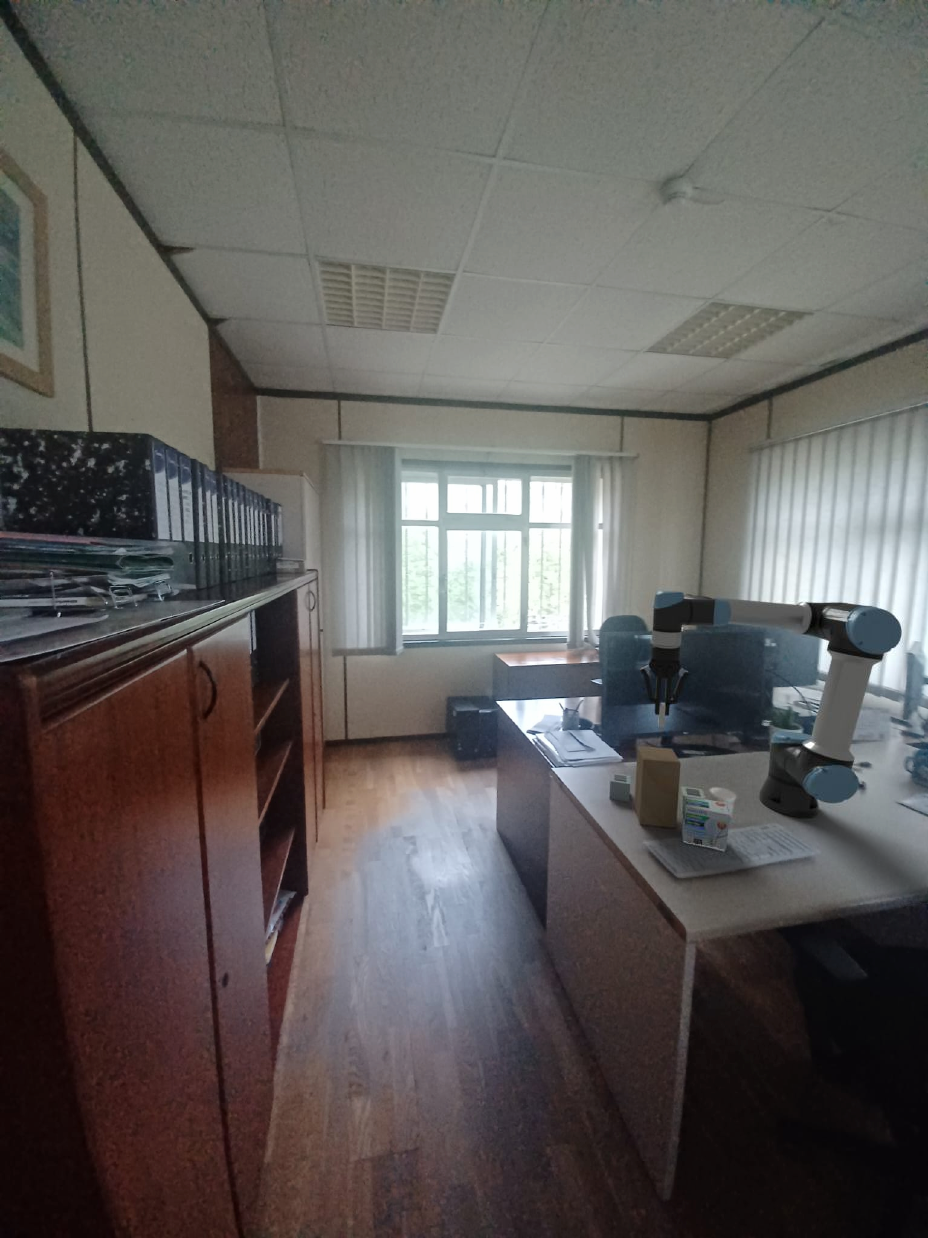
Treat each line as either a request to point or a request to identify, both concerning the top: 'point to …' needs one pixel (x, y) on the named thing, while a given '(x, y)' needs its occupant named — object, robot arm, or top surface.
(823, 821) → the top surface
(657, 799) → the wooden block
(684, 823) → the light bulb box
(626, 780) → the slate cube
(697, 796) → the sage cube
